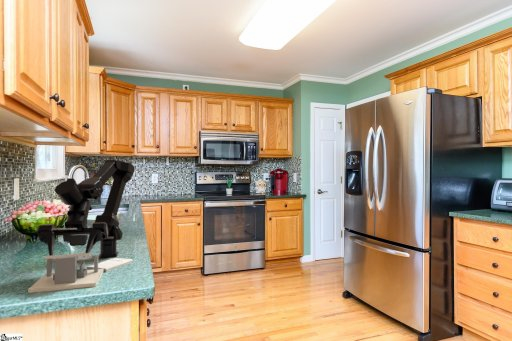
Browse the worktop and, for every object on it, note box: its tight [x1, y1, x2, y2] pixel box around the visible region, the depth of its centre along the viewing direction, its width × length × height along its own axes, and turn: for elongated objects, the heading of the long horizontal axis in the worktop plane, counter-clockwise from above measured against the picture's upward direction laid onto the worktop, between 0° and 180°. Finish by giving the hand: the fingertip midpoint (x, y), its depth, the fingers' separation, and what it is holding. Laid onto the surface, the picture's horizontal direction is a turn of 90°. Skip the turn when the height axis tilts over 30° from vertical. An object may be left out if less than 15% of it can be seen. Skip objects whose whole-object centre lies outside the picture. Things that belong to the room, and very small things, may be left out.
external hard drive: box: [86, 257, 134, 273], centre depth 108 cm, size 2×8×12 cm
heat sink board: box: [27, 254, 105, 294], centre depth 92 cm, size 14×16×8 cm
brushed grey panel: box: [44, 252, 94, 264], centre depth 93 cm, size 1×11×8 cm
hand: (68, 256), depth 92 cm, fingers open, 9 cm apart
